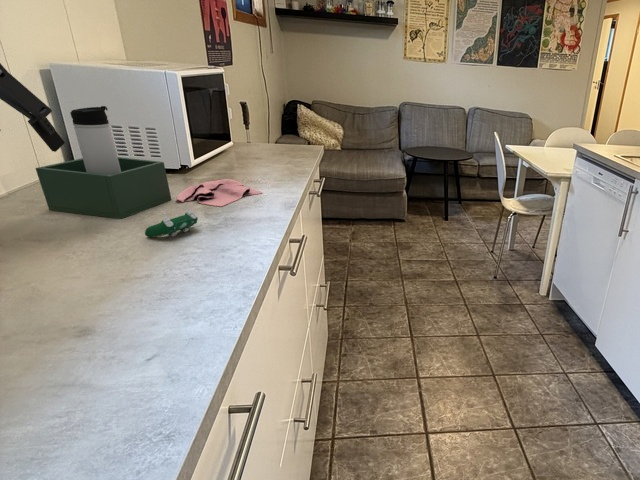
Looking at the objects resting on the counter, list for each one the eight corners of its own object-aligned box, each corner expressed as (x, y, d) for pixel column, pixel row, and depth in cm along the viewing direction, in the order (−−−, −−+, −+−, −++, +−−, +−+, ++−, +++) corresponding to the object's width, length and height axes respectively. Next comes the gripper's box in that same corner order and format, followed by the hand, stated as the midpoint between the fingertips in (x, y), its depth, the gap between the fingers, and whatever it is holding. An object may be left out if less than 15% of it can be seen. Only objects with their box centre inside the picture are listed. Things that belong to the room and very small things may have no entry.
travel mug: (130, 202, 107) (107, 108, 97) (95, 205, 103) (67, 108, 94) (128, 195, 111) (106, 104, 102) (94, 198, 108) (68, 104, 98)
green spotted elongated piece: (154, 248, 92) (167, 231, 89) (141, 232, 91) (153, 215, 88) (193, 234, 99) (205, 218, 96) (180, 220, 99) (193, 203, 96)
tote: (49, 210, 102) (35, 168, 97) (108, 192, 116) (97, 154, 112) (120, 219, 100) (109, 176, 96) (171, 199, 114) (163, 161, 110)
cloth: (237, 180, 134) (236, 172, 132) (274, 198, 120) (273, 189, 119) (158, 190, 120) (155, 180, 119) (189, 211, 107) (187, 201, 106)
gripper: (-168, 24, 70) (-48, 141, 88) (-19, 51, 68) (73, 165, 86) (-124, 1, 74) (-18, 117, 92) (18, 25, 72) (98, 139, 90)
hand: (26, 140), depth 89 cm, fingers open, 13 cm apart
